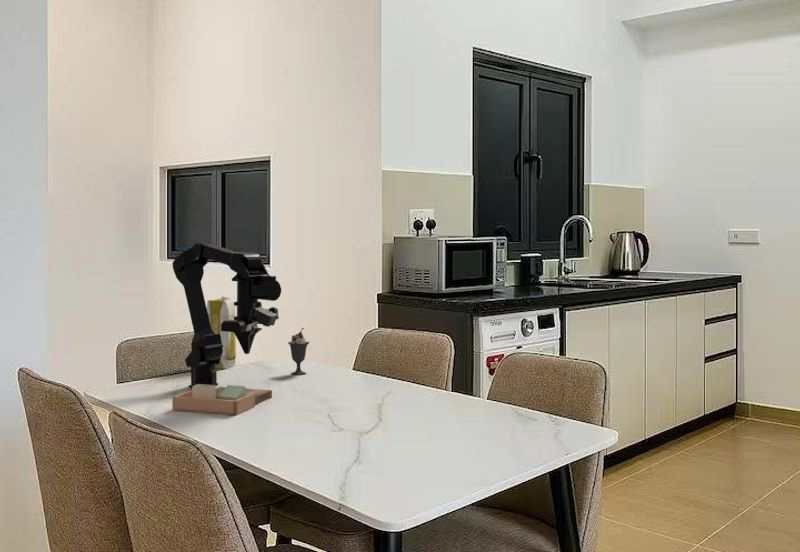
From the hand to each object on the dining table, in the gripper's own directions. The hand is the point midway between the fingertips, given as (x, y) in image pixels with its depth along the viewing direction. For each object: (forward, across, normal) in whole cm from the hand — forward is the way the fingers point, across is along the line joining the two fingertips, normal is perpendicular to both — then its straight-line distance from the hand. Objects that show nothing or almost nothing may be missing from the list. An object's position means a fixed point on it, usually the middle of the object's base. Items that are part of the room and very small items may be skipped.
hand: (246, 353), depth 220 cm
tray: (+11, -19, -2) cm, 22 cm away
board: (+11, -8, -1) cm, 14 cm away
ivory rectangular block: (+8, -16, +2) cm, 19 cm away
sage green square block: (+10, -15, -5) cm, 19 cm away
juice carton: (+12, +37, +30) cm, 49 cm away
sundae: (+12, +34, 0) cm, 36 cm away
